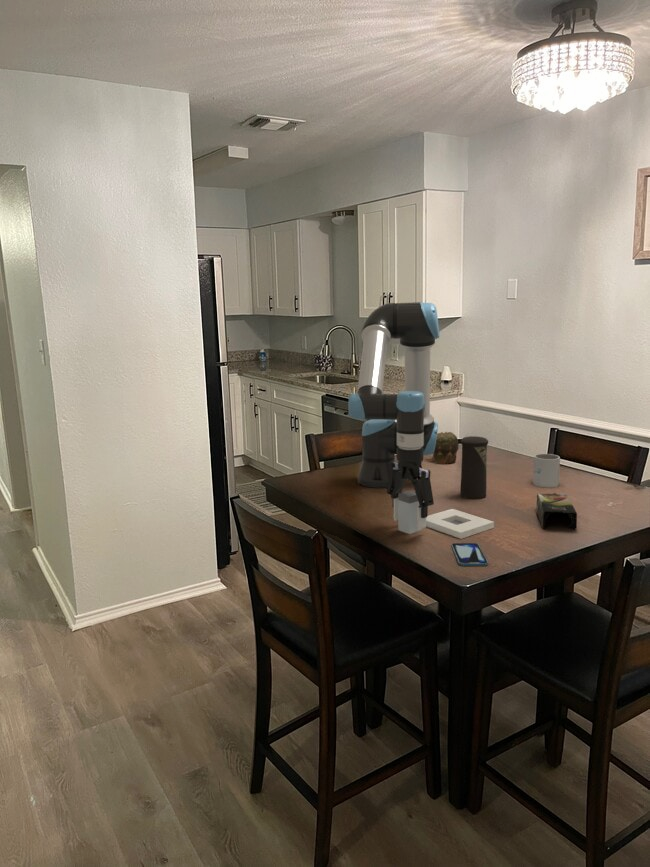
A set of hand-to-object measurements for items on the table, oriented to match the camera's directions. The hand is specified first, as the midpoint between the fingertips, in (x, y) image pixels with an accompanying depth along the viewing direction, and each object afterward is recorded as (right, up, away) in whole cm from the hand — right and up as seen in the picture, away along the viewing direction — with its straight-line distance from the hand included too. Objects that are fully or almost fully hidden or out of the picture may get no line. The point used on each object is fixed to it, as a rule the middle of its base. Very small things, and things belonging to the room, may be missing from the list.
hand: (409, 523), depth 188 cm
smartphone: (+13, -6, -18) cm, 23 cm away
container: (+25, +5, +33) cm, 42 cm away
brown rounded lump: (+25, +14, +80) cm, 84 cm away
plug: (0, -2, 0) cm, 2 cm away
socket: (+14, -1, +3) cm, 14 cm away
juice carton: (+44, 0, +8) cm, 45 cm away
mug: (+54, +8, +46) cm, 72 cm away
